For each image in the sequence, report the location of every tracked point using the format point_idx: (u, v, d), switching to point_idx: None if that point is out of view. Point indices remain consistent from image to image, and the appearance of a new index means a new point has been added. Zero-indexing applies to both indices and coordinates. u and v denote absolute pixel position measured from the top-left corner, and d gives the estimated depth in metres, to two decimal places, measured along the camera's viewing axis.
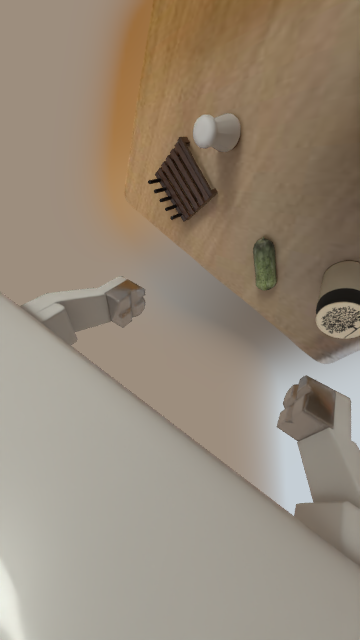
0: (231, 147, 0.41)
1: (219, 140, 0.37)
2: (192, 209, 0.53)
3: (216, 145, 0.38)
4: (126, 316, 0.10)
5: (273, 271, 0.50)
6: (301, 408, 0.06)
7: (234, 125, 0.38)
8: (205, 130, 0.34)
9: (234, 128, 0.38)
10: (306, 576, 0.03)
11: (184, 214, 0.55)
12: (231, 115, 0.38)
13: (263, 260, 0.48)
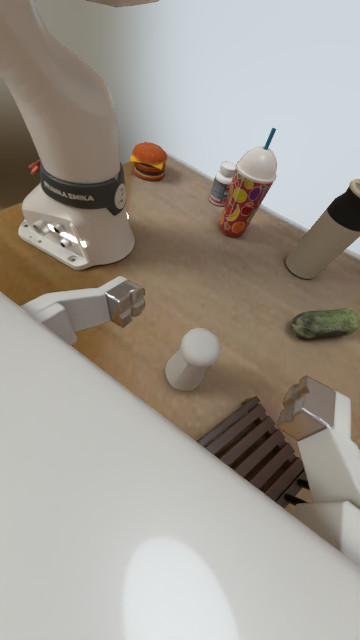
0: None
1: None
2: (284, 446, 0.26)
3: None
4: (126, 316, 0.10)
5: None
6: (301, 408, 0.06)
7: None
8: (202, 336, 0.21)
9: None
10: (306, 576, 0.03)
11: (297, 471, 0.25)
12: (170, 358, 0.29)
13: (322, 315, 0.36)
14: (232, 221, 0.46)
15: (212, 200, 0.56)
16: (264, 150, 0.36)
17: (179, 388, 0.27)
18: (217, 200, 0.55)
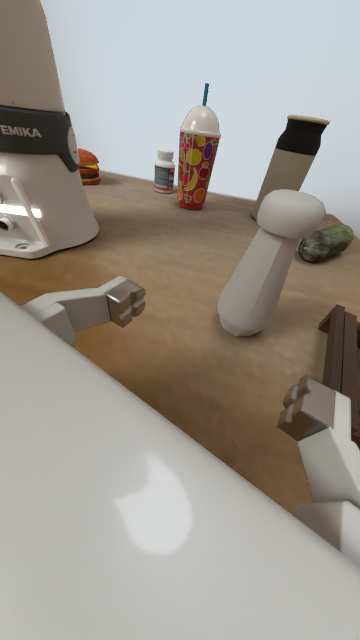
0: None
1: None
2: None
3: None
4: (126, 316, 0.10)
5: None
6: (301, 409, 0.06)
7: None
8: (290, 190, 0.14)
9: None
10: (306, 576, 0.03)
11: None
12: (221, 297, 0.20)
13: (324, 230, 0.35)
14: (192, 190, 0.44)
15: (159, 189, 0.54)
16: (204, 106, 0.37)
17: (255, 323, 0.19)
18: (164, 187, 0.54)
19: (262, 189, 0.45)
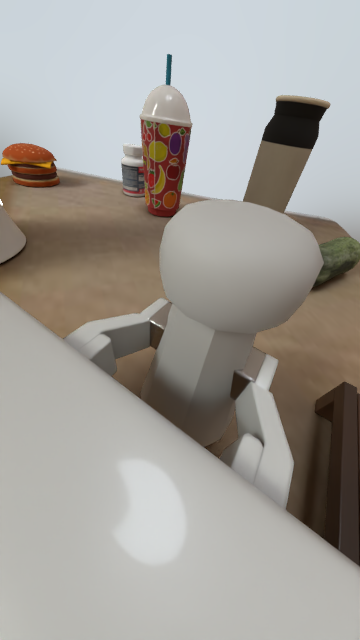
0: None
1: None
2: None
3: None
4: None
5: None
6: None
7: None
8: (232, 204, 0.05)
9: None
10: (306, 576, 0.03)
11: None
12: None
13: (324, 246, 0.26)
14: (160, 193, 0.36)
15: (128, 192, 0.46)
16: (167, 85, 0.29)
17: None
18: (134, 190, 0.45)
19: (247, 192, 0.36)
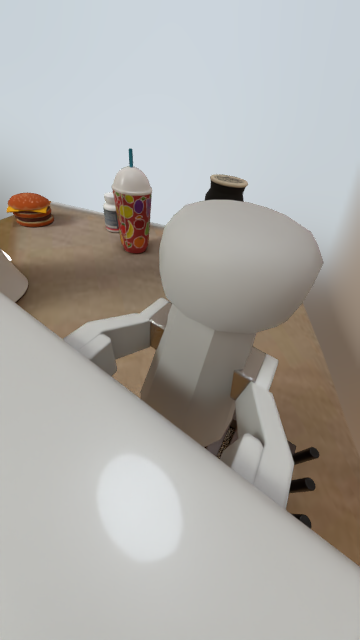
0: None
1: None
2: None
3: None
4: None
5: None
6: None
7: None
8: (231, 204, 0.05)
9: None
10: (306, 576, 0.03)
11: None
12: None
13: None
14: (131, 238, 0.47)
15: (109, 229, 0.56)
16: (130, 168, 0.39)
17: None
18: (114, 227, 0.56)
19: None
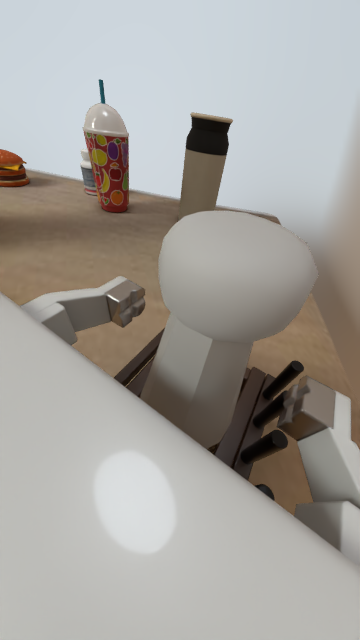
0: None
1: None
2: None
3: None
4: (126, 316, 0.10)
5: None
6: (302, 408, 0.06)
7: None
8: (229, 215, 0.05)
9: None
10: (306, 576, 0.03)
11: (258, 383, 0.17)
12: None
13: None
14: (107, 191, 0.42)
15: (88, 191, 0.52)
16: (102, 104, 0.35)
17: None
18: (93, 189, 0.52)
19: (181, 191, 0.43)
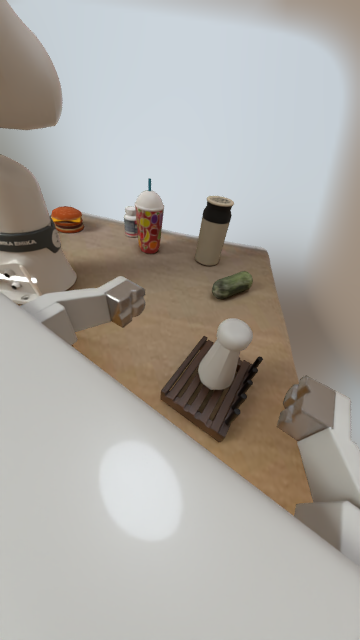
0: None
1: None
2: None
3: None
4: (126, 316, 0.10)
5: None
6: (302, 409, 0.06)
7: None
8: (234, 323, 0.25)
9: None
10: (306, 576, 0.03)
11: (246, 367, 0.36)
12: (200, 365, 0.31)
13: (227, 278, 0.52)
14: (147, 242, 0.62)
15: (128, 234, 0.71)
16: (149, 191, 0.54)
17: (221, 386, 0.29)
18: (132, 233, 0.71)
19: (198, 241, 0.62)
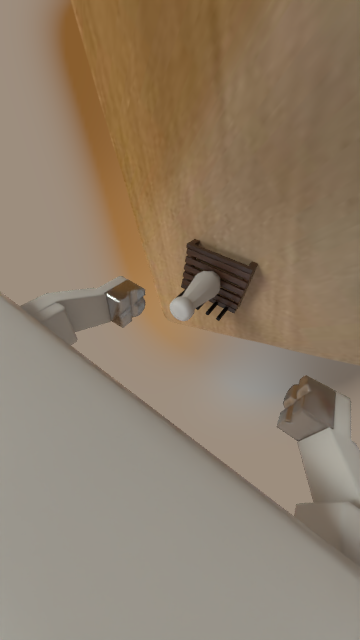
0: (217, 292, 0.39)
1: (200, 301, 0.36)
2: (237, 296, 0.41)
3: None
4: (126, 316, 0.10)
5: None
6: (301, 408, 0.06)
7: (207, 280, 0.37)
8: (179, 311, 0.33)
9: (209, 282, 0.37)
10: (306, 576, 0.03)
11: (230, 305, 0.43)
12: (201, 274, 0.38)
13: None
14: None
15: None
16: None
17: None
18: None
19: None
